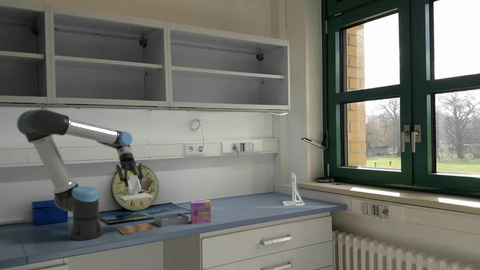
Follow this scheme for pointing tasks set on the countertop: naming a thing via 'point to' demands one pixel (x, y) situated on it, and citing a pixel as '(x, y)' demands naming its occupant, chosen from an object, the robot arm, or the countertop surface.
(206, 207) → the box
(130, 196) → the white t-shaped stand
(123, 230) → the pad
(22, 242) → the countertop surface
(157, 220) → the tub
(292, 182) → the film strip holder
